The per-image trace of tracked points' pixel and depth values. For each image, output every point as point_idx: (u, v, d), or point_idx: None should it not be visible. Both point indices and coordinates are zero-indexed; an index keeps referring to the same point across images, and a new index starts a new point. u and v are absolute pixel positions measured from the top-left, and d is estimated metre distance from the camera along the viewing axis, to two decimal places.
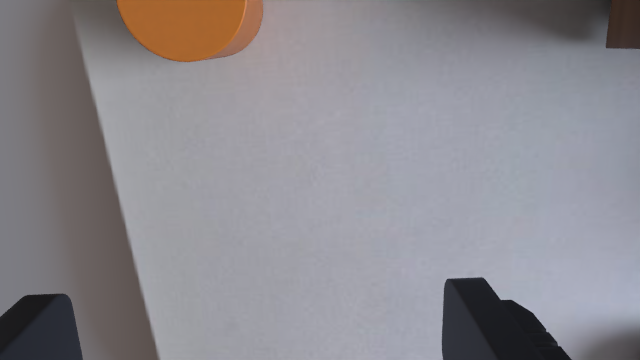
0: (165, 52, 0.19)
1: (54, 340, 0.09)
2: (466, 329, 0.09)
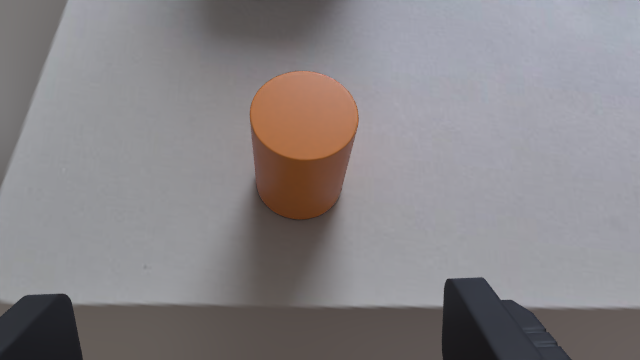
0: (349, 133, 0.22)
1: (53, 341, 0.09)
2: (466, 329, 0.09)
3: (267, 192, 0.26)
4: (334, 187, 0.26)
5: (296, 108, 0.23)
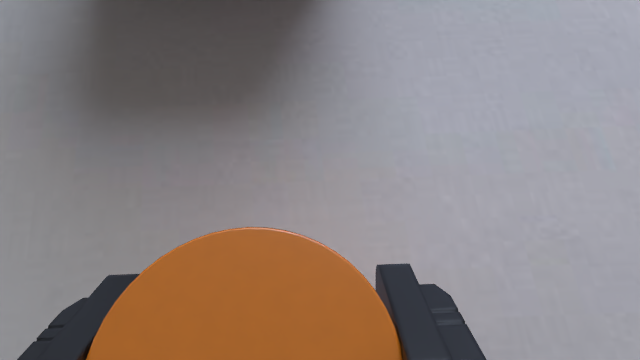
0: None
1: None
2: None
3: None
4: None
5: None
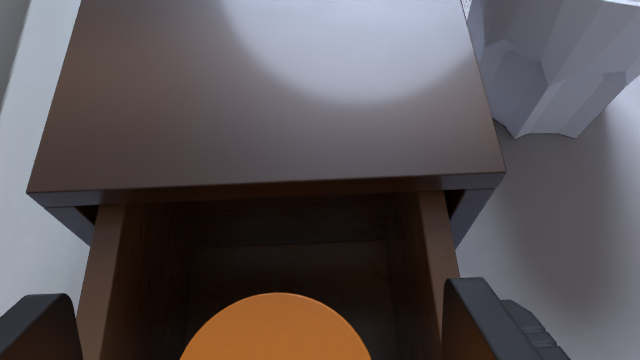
0: None
1: (54, 341, 0.09)
2: (465, 329, 0.09)
3: None
4: None
5: None
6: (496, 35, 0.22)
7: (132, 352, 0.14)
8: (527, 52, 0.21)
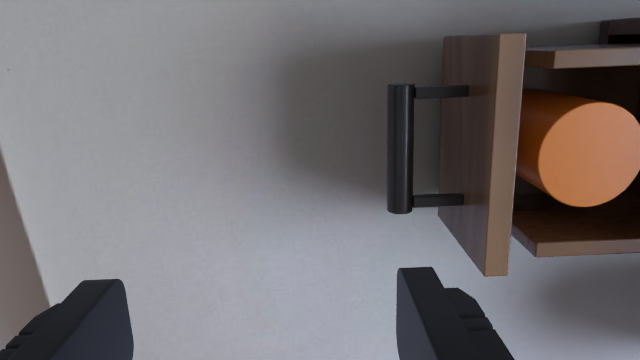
0: (568, 200, 0.24)
1: (111, 323, 0.10)
2: (410, 314, 0.09)
3: None
4: (517, 174, 0.27)
5: (597, 148, 0.23)
6: None
7: None
8: None
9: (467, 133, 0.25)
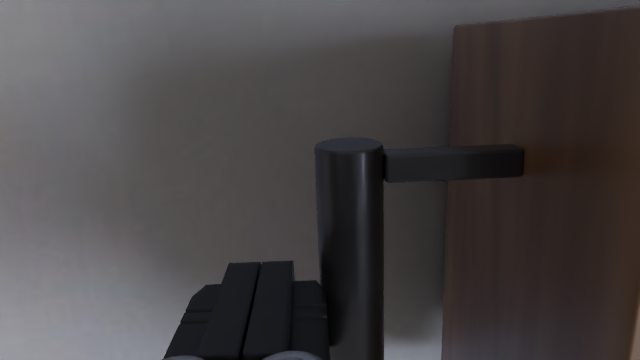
0: None
1: None
2: None
3: None
4: None
5: None
6: None
7: None
8: None
9: (516, 265, 0.10)
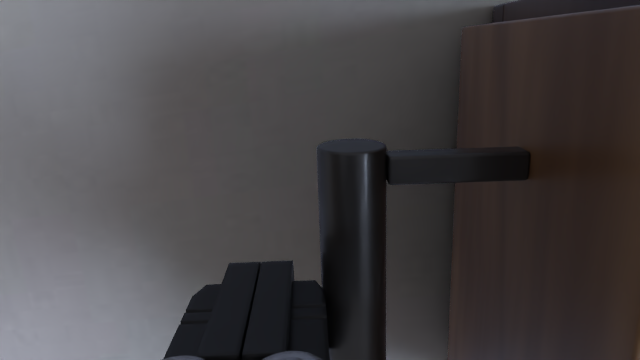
0: None
1: None
2: None
3: None
4: None
5: None
6: None
7: None
8: None
9: (521, 269, 0.10)
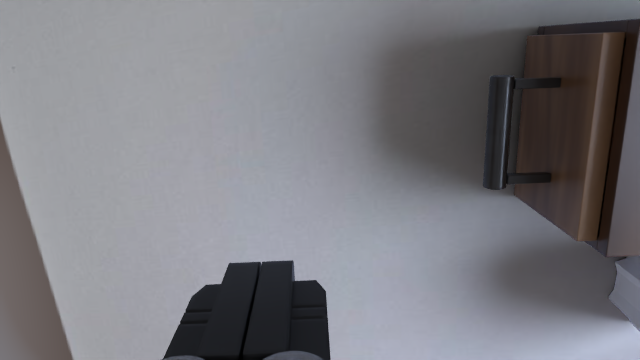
0: None
1: None
2: None
3: None
4: None
5: None
6: None
7: None
8: None
9: (557, 119, 0.29)
